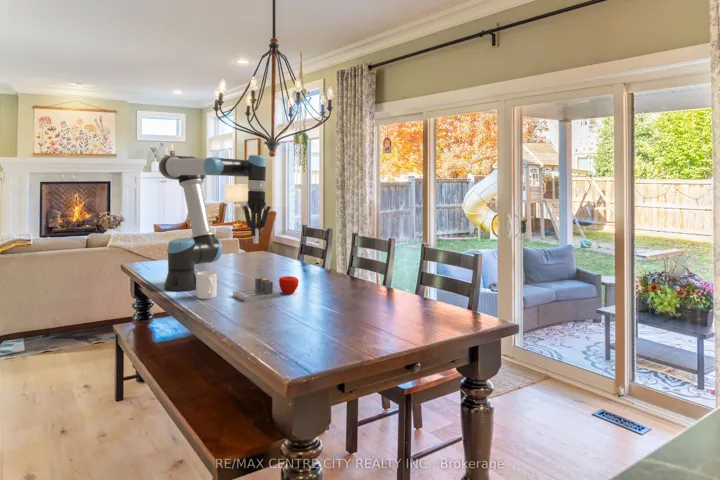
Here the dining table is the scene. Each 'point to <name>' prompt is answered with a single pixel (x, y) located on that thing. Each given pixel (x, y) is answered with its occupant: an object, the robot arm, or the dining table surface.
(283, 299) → the dining table surface
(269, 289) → the breaker
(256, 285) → the block
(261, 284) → the block
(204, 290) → the mug
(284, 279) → the apple
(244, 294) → the panel
